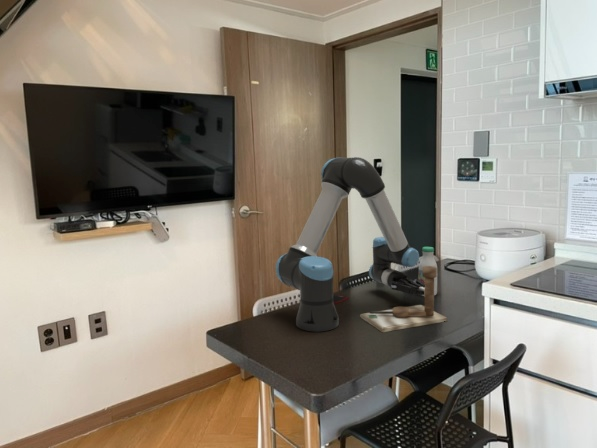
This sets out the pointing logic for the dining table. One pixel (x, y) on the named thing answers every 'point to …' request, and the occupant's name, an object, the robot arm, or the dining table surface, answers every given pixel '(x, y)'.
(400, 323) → the beige flat rectangular board
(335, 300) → the cell phone
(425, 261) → the milk bottle
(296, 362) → the dining table surface
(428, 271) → the wooden l-shaped rod
